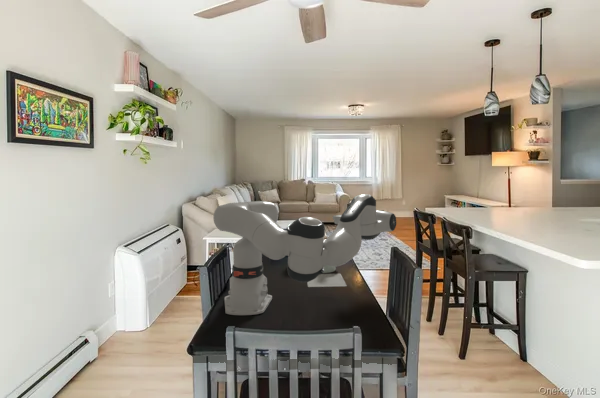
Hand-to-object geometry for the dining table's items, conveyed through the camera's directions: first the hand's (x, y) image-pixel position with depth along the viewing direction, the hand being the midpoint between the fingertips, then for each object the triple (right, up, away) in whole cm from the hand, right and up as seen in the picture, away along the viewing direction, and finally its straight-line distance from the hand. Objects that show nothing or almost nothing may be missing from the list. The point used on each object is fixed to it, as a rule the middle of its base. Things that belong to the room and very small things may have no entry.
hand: (340, 216), depth 169 cm
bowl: (-7, -28, +12) cm, 31 cm away
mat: (-8, -29, -5) cm, 31 cm away
